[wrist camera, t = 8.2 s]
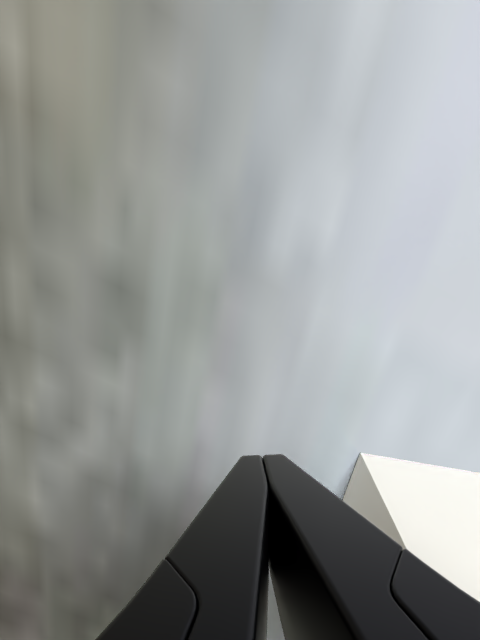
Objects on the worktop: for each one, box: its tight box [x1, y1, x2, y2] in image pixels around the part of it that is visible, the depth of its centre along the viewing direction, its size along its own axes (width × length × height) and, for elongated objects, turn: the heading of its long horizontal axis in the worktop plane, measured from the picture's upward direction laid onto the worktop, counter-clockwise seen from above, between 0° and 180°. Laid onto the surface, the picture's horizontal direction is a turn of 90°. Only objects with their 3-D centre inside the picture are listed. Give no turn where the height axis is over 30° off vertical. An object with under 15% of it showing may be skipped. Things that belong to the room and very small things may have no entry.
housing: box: [342, 453, 480, 602], centre depth 19 cm, size 10×6×10 cm, turn 78°
